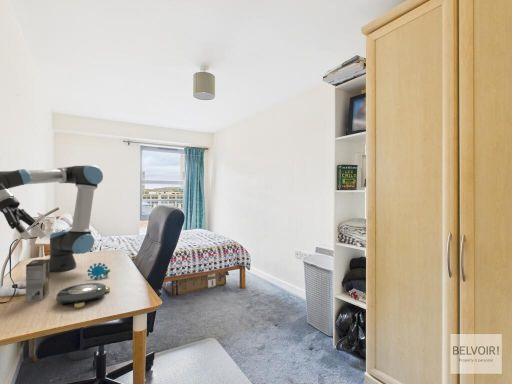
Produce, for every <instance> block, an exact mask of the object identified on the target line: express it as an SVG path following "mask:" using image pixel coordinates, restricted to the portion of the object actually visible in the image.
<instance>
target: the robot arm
mask: <svg viewBox="0 0 512 384" xmlns="http://www.w3.org/2000/svg"><path fill="white" fill-rule="evenodd" d="M103 178H104V174H103V172H102V170H101V169H100V168H99V167H98V166H96V165H89V164H88V165H72V166H67V167H65V166H64V167H57V169H39V170H38V169H35V170H34V169H33V170H31V169H30V170H26V169H24V168H23V169H17V170H9V171H8V170H4V171H0V213H2V214H3V216H4V218H5V220H6V222H7V224H8V226H9V227H10V228H11V230H14V229H15V230H16V231H17V232H18V234H20V236H21V238H23V240H25V241H26V240H29V239H30V238H32V236H33V235H32V234H31V233H30V232H29V231H28V229H27V228H26V226H24V225H23V224H21V221H22V222H23V223H25V224H27V225H28V226H29V227H30V226H31V225H32V224H33V223H34V222H35V221H37V220H36V219H35V218H33V217H32V216H31V215H30V214H29V213H27V211H25V209H24V208H19V206H20V205H21V203H20V202H19V199H17V198H16V197H15V196H14V194H13V193H12V192H11V191H10V190H9V189H12V188H16V187H20V186H25V185H36V184H48V183H49V184H51V183H59V184H75V185H74V186H75V187H76V188H77V192H76V193H77V194H76V198H75V207H74V212H73V218H72V219H73V221H72V226H71V228H70V229H69V230H64V231H56V232H51V233H50V236H49V257H48V259H50V260H49V264H50V268H49V273H51V272H52V273H57V272H65V271H69V270H73V269H76V267H77V262H76V260H75V257H74V254H75V255H79V254H86V253H89V251H91V249H92V248H93V247H94V245H95V238H94V236H93V235H92V230H91V229H90V223H91V215H92V208H93V200H94V193H95V190H96V189H98V185H99V184H100V183H102V181H103ZM37 222H38V223H37V224H36V225H34V226H33V227H30V228H31V230H32V231H33V232H34V233H35V234H36V236H37V237H38V238H39V239H43V238H44V237H46V236H47V234H46V233H45V231H44V230H43V229H42V228H41V227H40V225H39V224H40V222H39V221H37Z"/></svg>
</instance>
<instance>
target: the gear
mask: <svg viewBox="0 0 512 384" xmlns="http://www.w3.org/2000/svg"><path fill="white" fill-rule="evenodd" d="M93 266H94V267H93ZM110 272H111V269H110V268H109V269H108V266H107V265H106V263H103V264H102V263H101V262H99V263H93V265H89V269H87V276H89V278H90V280H91V279H93V278H94V280H98V277H99V279H103V277H106V276H108V275H109V273H110ZM102 275H103V276H102Z"/></svg>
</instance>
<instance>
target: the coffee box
mask: <svg viewBox="0 0 512 384" xmlns="http://www.w3.org/2000/svg"><path fill="white" fill-rule="evenodd" d="M49 260H50V259H49V258H48V259H47V258H46V259H45V258H44V259H33V260H31V261H30V262H28V263H27V264H26V265H25V275H26V276H25V302H26V303H27V302H29V303H30V302H37V301H38V302H39V301H43V300H44V299H45V298H46V297H47V296H48V295H49V294H50V272H49V268H50V264H49Z"/></svg>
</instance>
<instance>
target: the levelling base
mask: <svg viewBox="0 0 512 384" xmlns="http://www.w3.org/2000/svg"><path fill="white" fill-rule="evenodd" d="M110 292H111V287H110V286H107V285H106V284H104V283H100V282H87V283H80V284H75V285H72V286H68V287H66V288H63V289H60V291H59V292H58V293H57V294H56V297H55V299H56V300H57V301H59V302H61V306H67V305H70V304H71V303H74V304H73V306H74V310H82V309H83V308H85V307H86V302H87V301H89V300H92V301H100V300H101V298H102V296H103V295H105V294H107V293H110ZM85 301H86V302H85Z"/></svg>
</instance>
